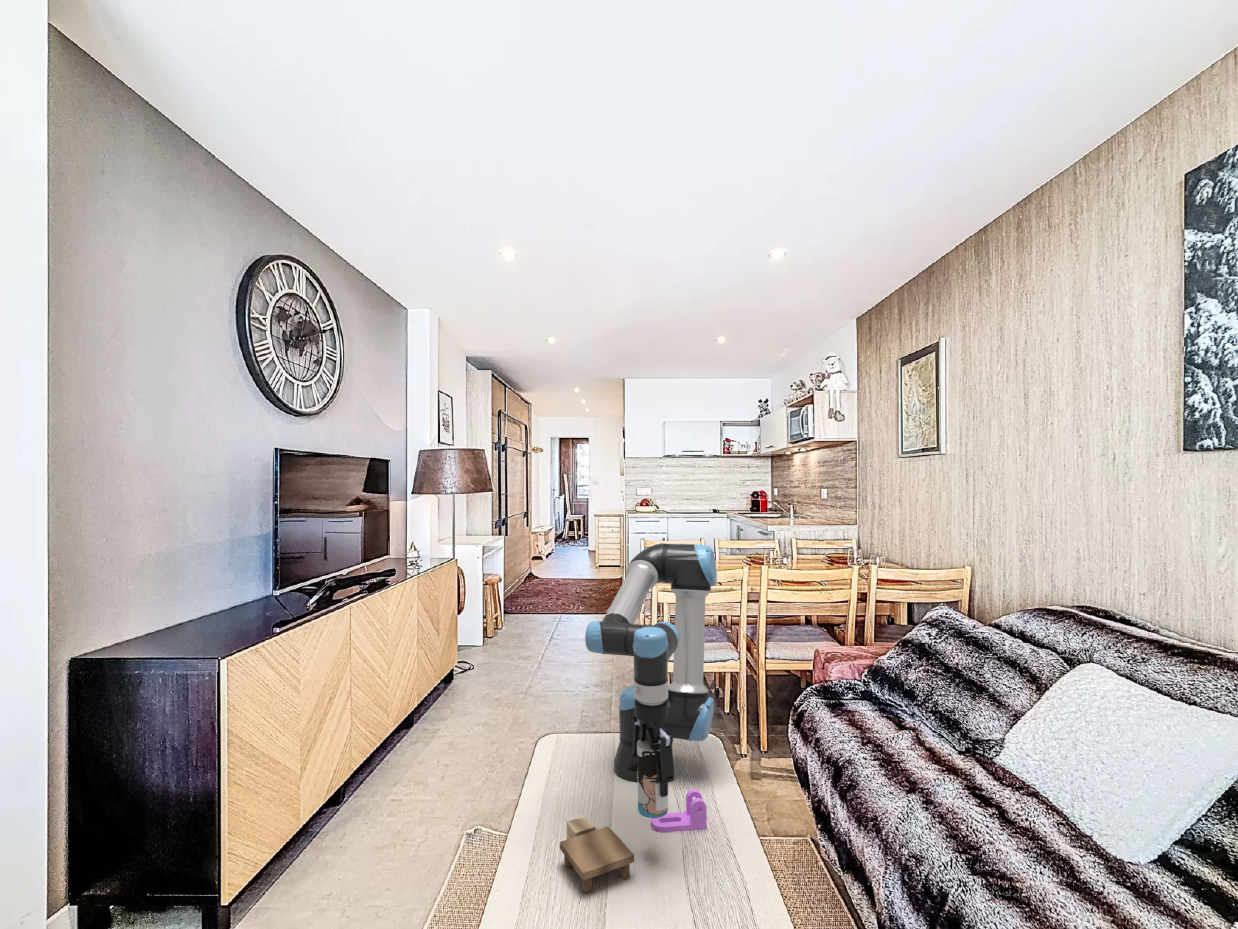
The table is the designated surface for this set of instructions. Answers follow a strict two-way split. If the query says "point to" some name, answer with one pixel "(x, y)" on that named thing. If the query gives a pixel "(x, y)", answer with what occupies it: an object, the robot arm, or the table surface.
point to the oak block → (579, 827)
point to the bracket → (684, 816)
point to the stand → (596, 855)
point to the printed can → (647, 781)
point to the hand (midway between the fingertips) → (652, 800)
